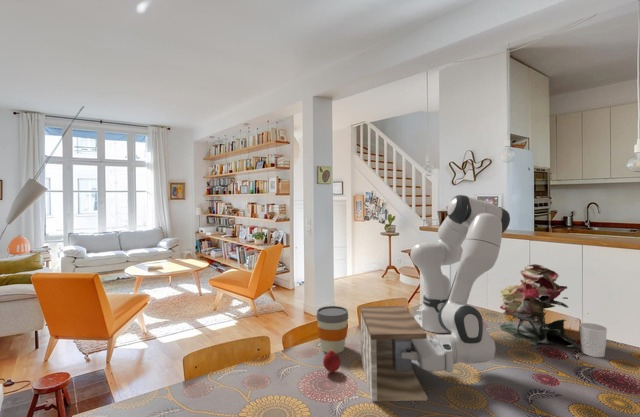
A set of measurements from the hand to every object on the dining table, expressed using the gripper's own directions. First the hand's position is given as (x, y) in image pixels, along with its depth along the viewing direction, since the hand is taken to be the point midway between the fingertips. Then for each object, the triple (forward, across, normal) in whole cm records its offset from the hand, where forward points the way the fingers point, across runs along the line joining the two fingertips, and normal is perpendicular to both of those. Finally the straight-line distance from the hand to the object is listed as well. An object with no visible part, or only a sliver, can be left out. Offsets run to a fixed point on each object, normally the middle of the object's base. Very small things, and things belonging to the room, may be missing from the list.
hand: (398, 350), depth 110 cm
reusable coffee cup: (+20, -25, +10) cm, 34 cm away
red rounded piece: (+21, -6, +10) cm, 25 cm away
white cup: (-76, -17, +10) cm, 78 cm away
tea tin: (-1, 0, +6) cm, 6 cm away
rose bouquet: (-65, -36, +10) cm, 75 cm away
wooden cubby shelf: (+2, -2, +10) cm, 10 cm away
